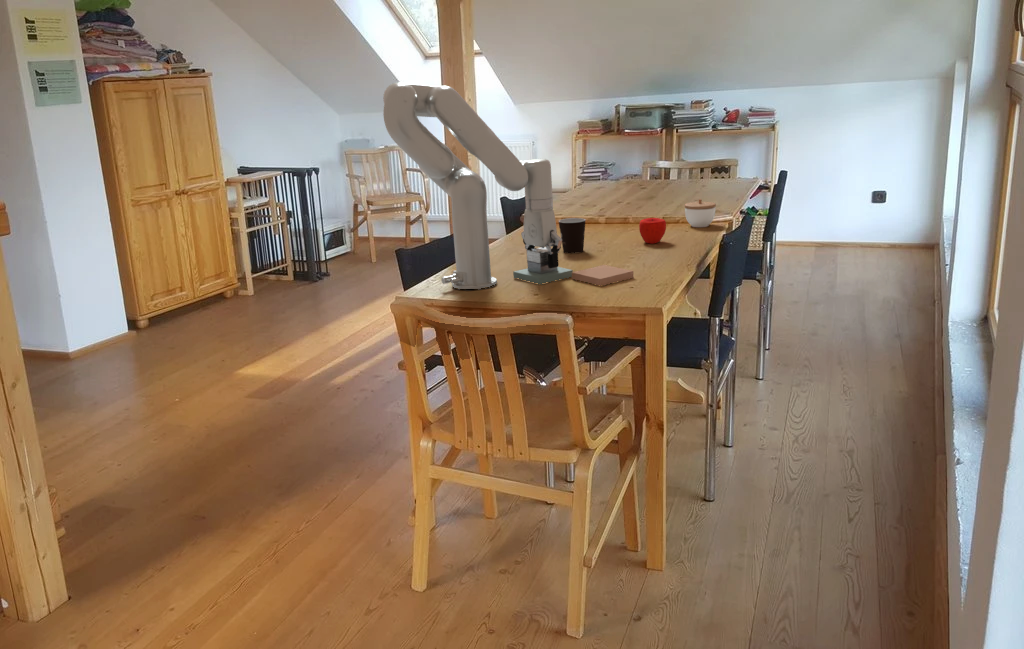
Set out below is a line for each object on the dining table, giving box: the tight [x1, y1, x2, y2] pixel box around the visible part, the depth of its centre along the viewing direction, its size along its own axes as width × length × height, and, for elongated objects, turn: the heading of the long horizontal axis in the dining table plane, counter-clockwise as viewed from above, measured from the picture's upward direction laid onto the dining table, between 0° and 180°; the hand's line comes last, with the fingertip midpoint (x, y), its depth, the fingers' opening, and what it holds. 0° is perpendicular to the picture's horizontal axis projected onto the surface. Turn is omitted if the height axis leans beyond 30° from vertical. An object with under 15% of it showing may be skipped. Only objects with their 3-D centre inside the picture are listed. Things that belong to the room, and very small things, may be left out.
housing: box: [526, 246, 559, 274], centre depth 243 cm, size 6×6×6 cm
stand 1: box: [512, 266, 574, 285], centre depth 244 cm, size 12×12×2 cm
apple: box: [638, 217, 667, 244], centre depth 281 cm, size 9×9×8 cm
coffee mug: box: [558, 217, 586, 254], centre depth 277 cm, size 12×9×10 cm
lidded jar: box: [684, 198, 717, 228], centre depth 304 cm, size 11×11×9 cm
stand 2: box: [571, 264, 634, 287], centre depth 238 cm, size 12×12×2 cm
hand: (542, 265), depth 243 cm, fingers open, 9 cm apart
